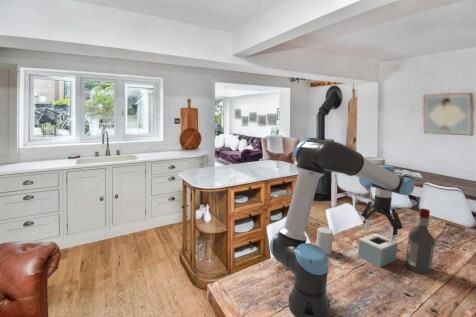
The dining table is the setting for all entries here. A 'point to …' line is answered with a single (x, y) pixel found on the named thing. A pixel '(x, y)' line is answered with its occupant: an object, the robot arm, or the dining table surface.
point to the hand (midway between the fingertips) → (379, 235)
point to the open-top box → (377, 249)
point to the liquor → (420, 246)
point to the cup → (325, 239)
